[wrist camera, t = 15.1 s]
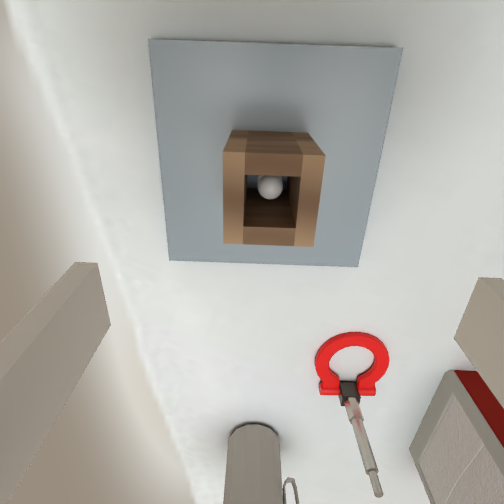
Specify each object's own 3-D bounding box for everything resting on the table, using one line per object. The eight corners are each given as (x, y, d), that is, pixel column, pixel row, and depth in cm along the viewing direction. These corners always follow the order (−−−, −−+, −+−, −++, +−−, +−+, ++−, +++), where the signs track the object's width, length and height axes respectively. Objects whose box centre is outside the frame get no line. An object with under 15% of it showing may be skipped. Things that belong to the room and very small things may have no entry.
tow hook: (317, 328, 39) (311, 388, 43) (344, 431, 27) (331, 499, 31) (392, 329, 39) (378, 389, 43) (450, 432, 27) (423, 501, 31)
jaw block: (232, 129, 27) (222, 151, 20) (308, 132, 27) (325, 155, 20) (231, 202, 30) (223, 243, 23) (300, 204, 30) (313, 247, 23)
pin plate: (153, 40, 26) (121, 31, 19) (395, 48, 26) (438, 42, 19) (172, 252, 34) (154, 293, 28) (353, 259, 34) (374, 301, 28)
